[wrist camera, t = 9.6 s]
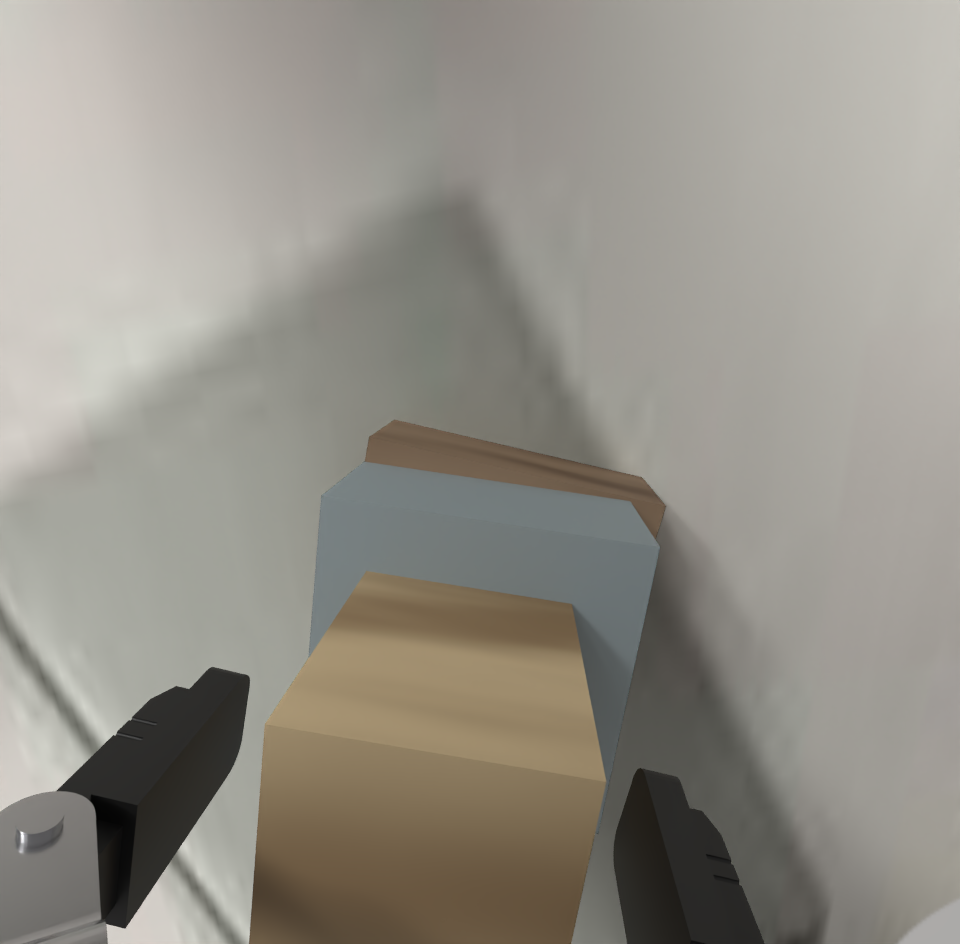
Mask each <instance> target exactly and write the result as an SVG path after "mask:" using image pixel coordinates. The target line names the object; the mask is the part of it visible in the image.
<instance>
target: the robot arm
mask: <svg viewBox="0 0 960 944" xmlns="http://www.w3.org/2000/svg"><path fill="white" fill-rule="evenodd" d="M249 686H250V678H249V676H248V675H245V674H240V673H236V672H232V671H228V670H223V669H219V668H215V667H211V668H209V669H208V670H207V671H206V672H205V673H204V674H203V675H202V676H201V677H200V679H199V680H198V681H197V682H196V683H195V684H194V685H193V686H192V687H191V688H190V689H186V688H182V687H178V686H176V687H174V688H172V689H170V690H168V691H166V692H164V693H162V694H160V695H158V696H156V697H154V698H152V699H150V700H149V701H148V702H147V703H146V704H145V705H144V706H143V707H142V708H141V709H140V710H139V711H138V712H137V713H136V714H135V715H134V716H133V717H132V720H131V721H130V720H129V721H128V722H127V723H126V724H125V725H124V726H123V727H122V728H120V729H119V730H118V731H117V734H116V736H114V735H113V736H112V737H111V738H110V739H109V740H108V741H107V742H106V743H105V744H104V745H103V746H102V747H101V748H100V749H99V750H98V751H97V752H96V753H95V754H94V755H93V756H92V757H91V758H90V759H89V760H88V761H87V762H86V763H85V764H84V765H83V766H82V767H81V768H80V769H79V770H77V771H76V772H75V773H74V774H73V775H72V776H71V777H70V778H69V779H68V780H67V781H66V782H65V783H64V784H63V785H62V786H61V787H60V788H59V789H58V790H57V791H54V792H46V793H40V794H36V795H33V796H30V797H27V798H24V799H22V800H20V801H17V802H15V803H13V804H12V805H10V806H8V807H7V808H5V809H3V810H2V811H1V812H0V944H108V940H107V927H106V924H109V925H113V926H117V927H121V928H126V927H127V925H128V924H129V922H130V921H131V919H132V918H133V916H134V915H135V913H136V912H137V910H138V909H139V907H140V906H141V904H142V903H143V901H144V900H145V898H146V897H147V895H148V894H149V892H150V891H151V889H152V888H153V886H154V885H155V883H156V882H157V880H158V879H159V877H160V876H161V874H162V873H163V872H164V870H165V869H166V867H167V866H168V864H169V863H170V861H171V860H172V858H173V857H174V855H175V854H176V852H177V851H178V849H179V848H180V846H181V845H182V843H183V842H184V840H185V839H186V837H187V836H188V834H189V833H190V831H191V830H192V828H193V827H194V825H195V824H196V822H197V821H198V819H199V818H200V816H201V815H202V813H203V812H204V810H205V809H206V807H207V806H208V804H209V803H210V801H211V800H212V798H213V797H214V795H215V794H216V792H217V791H218V789H219V788H220V786H221V785H222V783H223V782H224V780H225V779H226V777H227V776H228V774H229V773H230V771H231V769H232V767H233V765H234V763H235V760H236V758H237V755H238V752H239V749H240V746H241V741H242V735H243V728H244V721H245V714H246V707H247V700H248V693H249ZM614 869H615V875H616V881H617V886H618V892H619V898H620V904H621V910H622V915H623V921H624V927H625V933H626V938H627V944H764V941H763V939H762V936H761V934H760V931H759V929H758V926H757V924H756V921H755V919H754V916H753V913H752V911H751V908H750V906H749V903H748V901H747V898H746V896H745V893H744V891H743V888H742V886H739V878H738V876H737V873H736V871H735V868H734V866H733V865H731V858H730V856H729V853H728V851H727V848H726V846H725V843H724V841H723V838H722V836H721V834H720V833H719V832H718V830H717V829H716V828H715V827H714V825H713V824H712V823H711V822H710V820H709V819H708V818H707V817H706V815H705V814H704V813H703V812H702V811H699V810H695V809H691V808H689V805H688V803H687V800H686V797H685V794H684V791H683V788H682V786H681V783H680V781H679V779H678V778H677V777H675V776H671V775H666V774H662V773H658V772H654V771H649V770H645V769H641V768H640V769H638V770H637V771H636V773H635V775H634V778H633V781H632V784H631V787H630V790H629V793H628V796H627V799H626V803H625V806H624V809H623V812H622V815H621V818H620V821H619V824H618V827H617V831H616V835H615V841H614Z"/></svg>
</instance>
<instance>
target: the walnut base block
mask: <svg viewBox="0 0 960 944" xmlns="http://www.w3.org/2000/svg"><path fill="white" fill-rule="evenodd" d="M365 462H370V463H377V464H384V465H391V466H397V467H404V468H411V469H417V470H424V471H431V472H438V473H444V474H451V475H458V476H464V477H471V478H478V479H485V480H491V481H498V482H505V483H511V484H518V485H525V486H532V487H538V488H545V489H552V490H559V491H565V492H572V493H579V494H585V495H592V496H599V497H606V498H612V499H619V500H626V501H630V502H631V503H632V505H633V506H634V508H635V509H636V511H637V512H638V514H639V515H640V517H641V519H642V520H643V522H644V523H645V525H646V526H647V528H648V529H649V531H650V532H651V534H652V535H653V537H654V539H655V540H656V536H657V533H658V530H659V527H660V524H661V520H662V517H663V514H664V511H665V507H666V506H665V504H664V503H663V502H662V501H661V500H660V498H659V497H658V496H657V495H656V494H655V492H654V491H653V490H652V489H651V488H650V486H649V485H648V484H647V483H646V482H645V480H644V479H643V478H642V477H638V476H634V475H629V474H625V473H621V472H616V471H612V470H608V469H604V468H599V467H595V466H591V465H586V464H582V463H578V462H573V461H569V460H565V459H561V458H556V457H552V456H548V455H543V454H539V453H535V452H531V451H526V450H522V449H518V448H513V447H509V446H505V445H500V444H496V443H492V442H488V441H483V440H479V439H475V438H470V437H466V436H462V435H458V434H453V433H449V432H445V431H440V430H436V429H432V428H427V427H423V426H419V425H415V424H410V423H406V422H402V421H397V420H393V421H392V422H391V423H389V424H388V425H386V426H385V427H383V428H382V429H380V430H379V431H377V432H376V433H374V434H373V435H371V436H370V437H369V441H368V447H367V452H366V458H365Z"/></svg>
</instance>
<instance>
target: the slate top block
mask: <svg viewBox="0 0 960 944" xmlns="http://www.w3.org/2000/svg"><path fill="white" fill-rule="evenodd" d="M659 550H660V546H659V545H658V543H657V542H656V540H655V539H654V537H653V535H652V534H651V532H650V531H649V529H648V528H647V526H646V525H645V523H644V522H643V520H642V519H641V517H640V515H639V514H638V512H637V511H636V509H635V508H634V506H633V505H632V503H631V502H630V501H626V500H619V499H612V498H606V497H599V496H592V495H585V494H579V493H572V492H565V491H559V490H552V489H545V488H538V487H532V486H525V485H518V484H511V483H505V482H498V481H491V480H485V479H478V478H471V477H464V476H458V475H451V474H444V473H438V472H431V471H424V470H417V469H411V468H404V467H397V466H391V465H384V464H377V463H370V462H363V463H362V464H361V465H359V466H358V467H357V468H356V469H354V470H353V471H352V472H351V473H349V474H348V475H347V476H346V477H344V478H343V479H342V480H341V481H339V482H338V483H337V484H336V485H334V486H333V487H332V488H331V489H329V490H328V491H327V492H326V493H324V494H323V495H322V496H321V507H320V520H319V532H318V545H317V557H316V570H315V583H314V595H313V608H312V620H311V633H310V645H309V657H310V655H311V654H312V652H313V651H314V649H315V648H316V646H317V645H318V643H319V642H320V640H321V639H322V637H323V636H324V634H325V633H326V631H327V630H328V628H329V627H330V625H331V624H332V622H333V620H334V619H335V617H336V616H337V614H338V613H339V611H340V610H341V608H342V607H343V605H344V604H345V602H346V601H347V599H348V598H349V596H350V595H351V593H352V592H353V590H354V589H355V587H356V586H357V584H358V583H359V581H360V580H361V578H362V577H363V575H364V574H365V572H366V571H370V572H376V573H382V574H389V575H395V576H401V577H407V578H414V579H420V580H426V581H432V582H438V583H445V584H451V585H457V586H463V587H470V588H476V589H482V590H488V591H495V592H501V593H507V594H513V595H519V596H526V597H532V598H538V599H544V600H551V601H557V602H563V603H569V604H572V607H573V613H574V618H575V623H576V628H577V633H578V638H579V643H580V649H581V654H582V659H583V664H584V669H585V674H586V680H587V685H588V690H589V695H590V700H591V705H592V710H593V716H594V721H595V726H596V731H597V736H598V741H599V746H600V752H601V757H602V762H603V767H604V772H605V777H606V786H605V790H604V795H603V800H602V804H601V809H600V813H599V818H598V822H597V827H596V831H595V834H598V832H599V828H600V823H601V818H602V814H603V809H604V804H605V800H606V795H607V791H608V786H609V781H610V777H611V772H612V768H613V763H614V758H615V754H616V749H617V744H618V740H619V735H620V731H621V726H622V721H623V717H624V712H625V707H626V703H627V698H628V694H629V689H630V684H631V680H632V675H633V670H634V666H635V661H636V657H637V652H638V647H639V643H640V638H641V633H642V629H643V624H644V620H645V615H646V610H647V606H648V601H649V596H650V592H651V587H652V583H653V578H654V573H655V569H656V564H657V560H658V555H659Z"/></svg>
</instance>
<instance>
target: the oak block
mask: <svg viewBox="0 0 960 944" xmlns="http://www.w3.org/2000/svg"><path fill="white" fill-rule="evenodd" d="M605 786H606V777H605V772H604V767H603V762H602V757H601V752H600V746H599V741H598V736H597V731H596V726H595V721H594V716H593V710H592V705H591V700H590V695H589V690H588V685H587V680H586V674H585V669H584V664H583V659H582V654H581V649H580V643H579V638H578V633H577V628H576V623H575V618H574V613H573V607H572V604H569V603H563V602H557V601H551V600H544V599H538V598H532V597H526V596H519V595H513V594H507V593H501V592H495V591H488V590H482V589H476V588H470V587H463V586H457V585H451V584H445V583H438V582H432V581H426V580H420V579H414V578H407V577H401V576H395V575H389V574H382V573H376V572H370V571H366V572H365V574H364V575H363V577H362V578H361V580H360V581H359V583H358V584H357V586H356V587H355V589H354V590H353V592H352V593H351V595H350V596H349V598H348V599H347V601H346V602H345V604H344V605H343V607H342V608H341V610H340V611H339V613H338V614H337V616H336V617H335V619H334V620H333V622H332V624H331V625H330V627H329V628H328V630H327V631H326V633H325V634H324V636H323V637H322V639H321V640H320V642H319V643H318V645H317V646H316V648H315V649H314V651H313V652H312V654H311V655H310V657H309V658H308V660H307V661H306V663H305V664H304V666H303V667H302V669H301V670H300V672H299V673H298V675H297V676H296V678H295V679H294V681H293V682H292V684H291V685H290V687H289V689H288V690H287V692H286V693H285V695H284V696H283V698H282V699H281V701H280V702H279V704H278V705H277V707H276V708H275V710H274V711H273V713H272V714H271V716H270V717H269V719H268V720H267V722H266V723H265V729H264V743H263V757H262V771H261V785H260V799H259V813H258V827H257V841H256V855H255V869H254V883H253V898H252V912H251V926H250V940H249V944H571V941H572V936H573V932H574V927H575V923H576V918H577V914H578V909H579V904H580V900H581V895H582V891H583V886H584V882H585V877H586V872H587V868H588V863H589V859H590V854H591V850H592V845H593V841H594V836H595V831H596V827H597V822H598V818H599V813H600V809H601V804H602V800H603V795H604V790H605Z"/></svg>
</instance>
